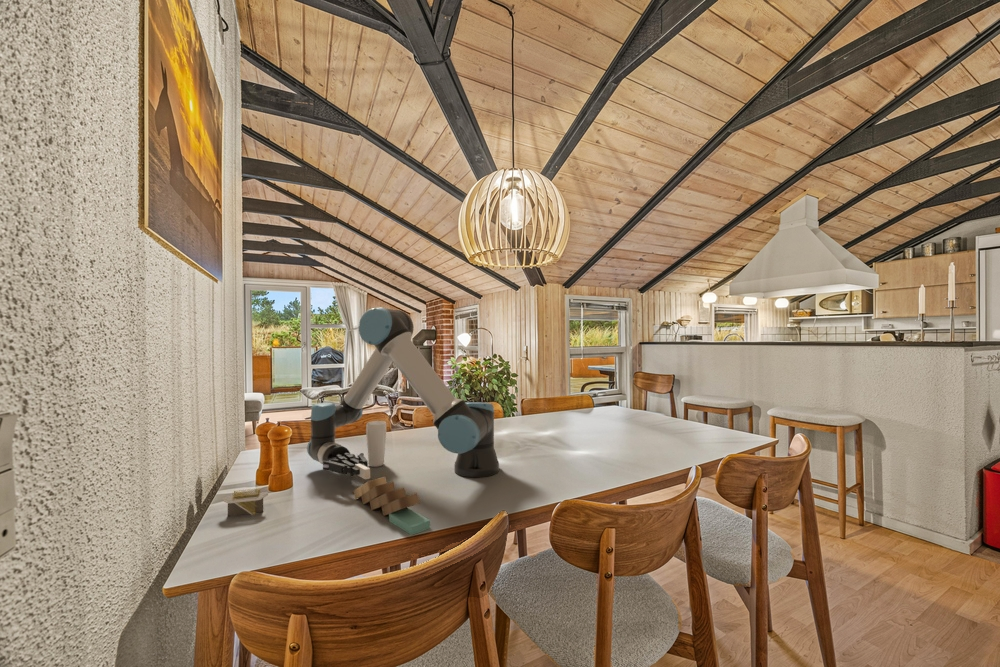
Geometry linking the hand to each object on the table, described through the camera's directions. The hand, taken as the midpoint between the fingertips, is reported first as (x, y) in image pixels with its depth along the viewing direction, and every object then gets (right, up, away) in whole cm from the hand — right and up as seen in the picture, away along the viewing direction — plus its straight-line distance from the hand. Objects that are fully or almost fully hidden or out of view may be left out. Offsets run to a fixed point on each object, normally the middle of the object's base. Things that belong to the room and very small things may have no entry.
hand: (367, 474), depth 113 cm
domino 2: (+1, -6, -2) cm, 6 cm away
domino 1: (-2, -6, +2) cm, 7 cm away
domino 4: (+9, -6, -9) cm, 14 cm away
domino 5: (+12, -6, -12) cm, 18 cm away
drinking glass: (-7, -8, +30) cm, 32 cm away
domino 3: (+5, -6, -5) cm, 9 cm away
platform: (-28, -8, -10) cm, 31 cm away
